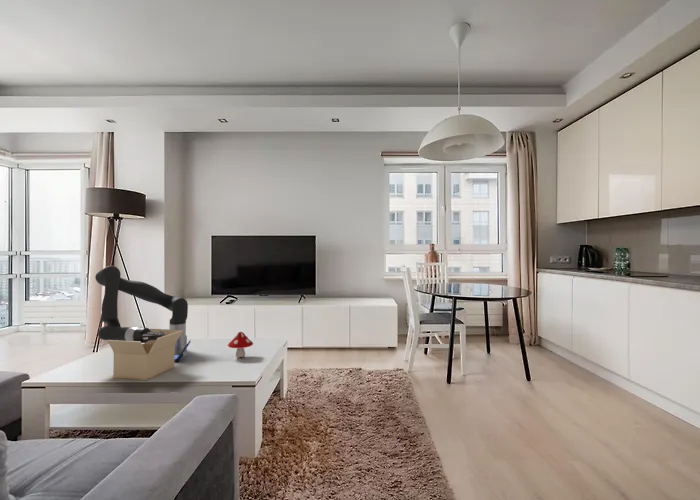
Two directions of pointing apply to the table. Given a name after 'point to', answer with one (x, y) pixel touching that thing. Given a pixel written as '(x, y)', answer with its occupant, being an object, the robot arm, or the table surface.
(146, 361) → the carton
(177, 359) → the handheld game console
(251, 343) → the decorative mushroom
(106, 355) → the table surface
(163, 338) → the near flap
